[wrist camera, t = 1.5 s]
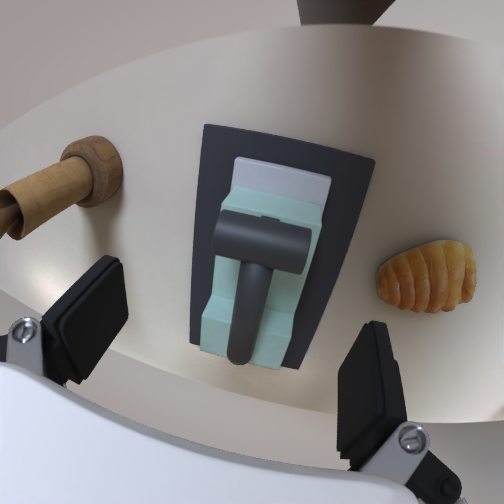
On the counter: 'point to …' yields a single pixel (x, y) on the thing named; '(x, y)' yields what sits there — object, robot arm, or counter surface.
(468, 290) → the pastry
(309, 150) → the iron mat
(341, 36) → the counter surface
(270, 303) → the iron
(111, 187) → the mortar and pestle
